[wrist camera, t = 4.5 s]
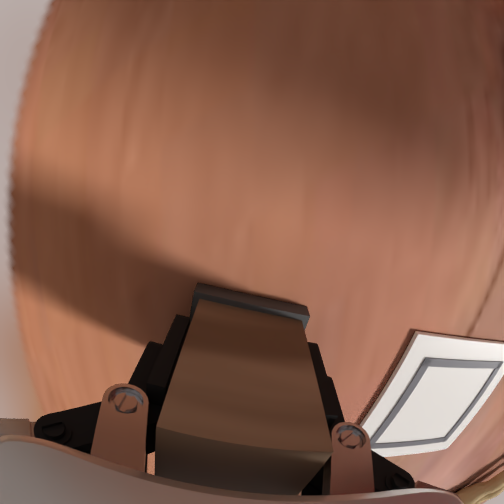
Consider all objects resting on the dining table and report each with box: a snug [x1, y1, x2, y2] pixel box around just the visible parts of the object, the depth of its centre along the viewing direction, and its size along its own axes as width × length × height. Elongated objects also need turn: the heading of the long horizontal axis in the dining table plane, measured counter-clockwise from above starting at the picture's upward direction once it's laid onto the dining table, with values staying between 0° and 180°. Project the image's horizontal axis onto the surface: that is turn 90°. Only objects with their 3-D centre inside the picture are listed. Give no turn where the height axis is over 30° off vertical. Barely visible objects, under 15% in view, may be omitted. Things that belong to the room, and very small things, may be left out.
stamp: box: [155, 283, 334, 495], centre depth 10 cm, size 4×4×7 cm
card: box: [359, 331, 504, 457], centre depth 14 cm, size 10×10×1 cm
